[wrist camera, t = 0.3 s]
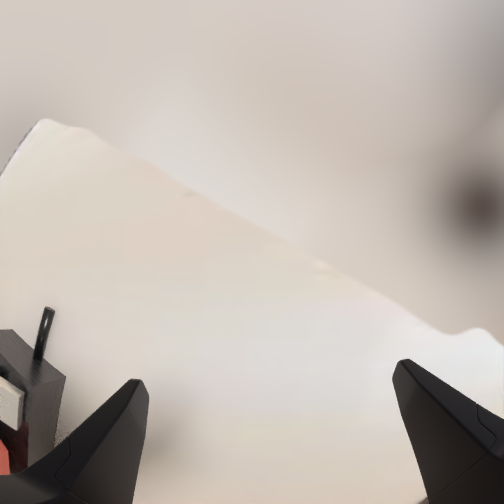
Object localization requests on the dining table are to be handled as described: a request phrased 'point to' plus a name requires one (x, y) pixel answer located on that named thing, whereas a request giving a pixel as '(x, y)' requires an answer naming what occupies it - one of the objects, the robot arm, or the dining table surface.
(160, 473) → the dining table surface
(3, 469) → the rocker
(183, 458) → the dining table surface
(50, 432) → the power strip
